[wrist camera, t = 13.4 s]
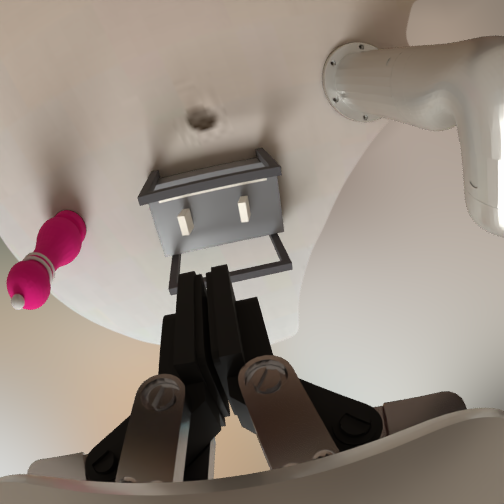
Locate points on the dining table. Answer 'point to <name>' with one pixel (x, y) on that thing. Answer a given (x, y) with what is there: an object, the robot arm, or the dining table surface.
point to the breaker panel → (217, 210)
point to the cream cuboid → (244, 208)
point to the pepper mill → (45, 260)
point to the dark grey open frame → (268, 171)
